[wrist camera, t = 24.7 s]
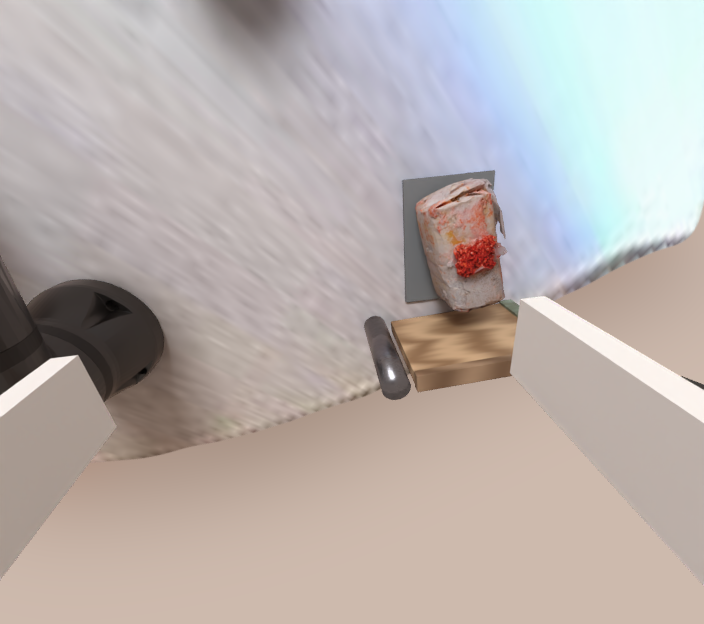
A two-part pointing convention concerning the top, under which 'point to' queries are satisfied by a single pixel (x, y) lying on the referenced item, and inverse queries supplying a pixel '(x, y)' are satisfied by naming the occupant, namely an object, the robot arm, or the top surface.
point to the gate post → (386, 360)
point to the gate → (458, 345)
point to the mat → (414, 256)
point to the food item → (463, 243)
